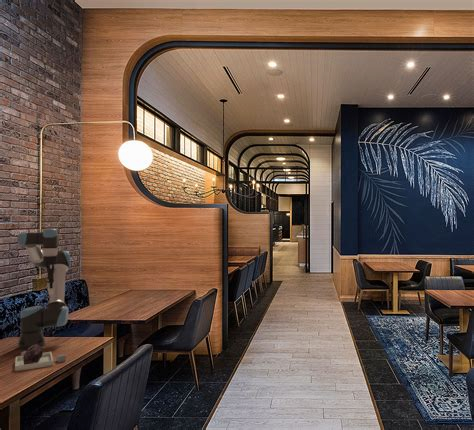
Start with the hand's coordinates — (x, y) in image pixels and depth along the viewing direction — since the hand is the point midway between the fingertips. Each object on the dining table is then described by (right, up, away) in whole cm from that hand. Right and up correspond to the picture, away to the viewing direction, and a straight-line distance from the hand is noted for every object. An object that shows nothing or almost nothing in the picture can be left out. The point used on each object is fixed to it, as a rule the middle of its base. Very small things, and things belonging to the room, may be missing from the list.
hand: (50, 292), depth 239 cm
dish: (0, -34, -19) cm, 39 cm away
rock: (0, -34, -20) cm, 39 cm away
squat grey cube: (+13, -34, -15) cm, 40 cm away
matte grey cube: (-10, -35, -7) cm, 37 cm away
